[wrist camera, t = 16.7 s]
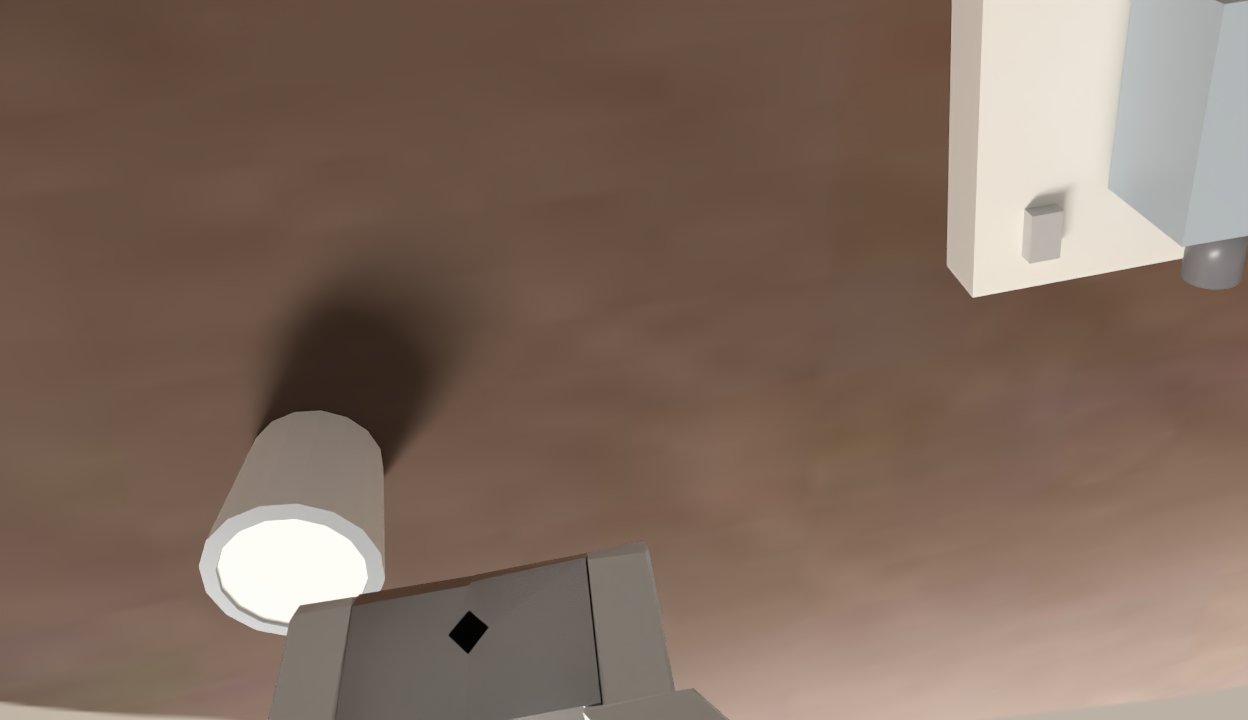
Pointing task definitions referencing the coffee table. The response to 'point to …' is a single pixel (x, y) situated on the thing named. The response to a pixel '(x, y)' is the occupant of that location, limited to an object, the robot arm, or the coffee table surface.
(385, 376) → the coffee table surface
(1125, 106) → the plug
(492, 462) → the coffee table surface
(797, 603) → the coffee table surface
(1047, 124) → the socket plate
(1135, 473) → the coffee table surface
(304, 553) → the shot glass
